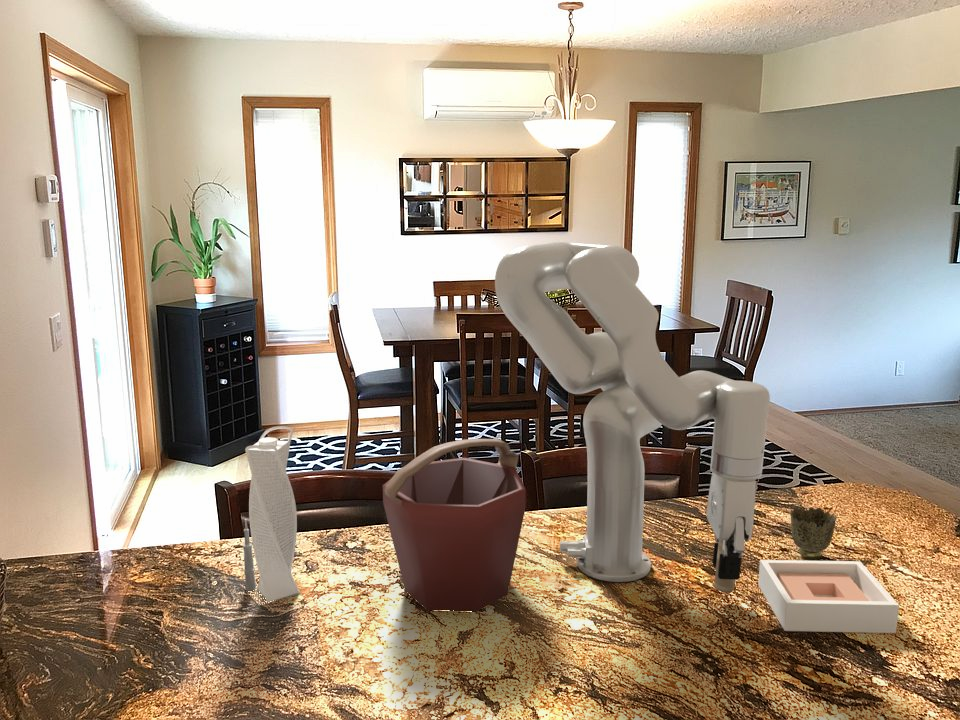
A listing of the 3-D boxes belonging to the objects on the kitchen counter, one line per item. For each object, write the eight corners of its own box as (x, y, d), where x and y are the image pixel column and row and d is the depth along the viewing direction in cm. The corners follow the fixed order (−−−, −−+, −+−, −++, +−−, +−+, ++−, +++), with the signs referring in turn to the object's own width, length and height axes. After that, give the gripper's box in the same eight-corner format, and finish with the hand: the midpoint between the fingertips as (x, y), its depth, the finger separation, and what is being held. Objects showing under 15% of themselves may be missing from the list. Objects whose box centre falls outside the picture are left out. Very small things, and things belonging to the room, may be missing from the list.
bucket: (504, 549, 147) (503, 417, 142) (556, 607, 127) (557, 455, 122) (372, 572, 139) (366, 433, 134) (405, 637, 119) (399, 476, 113)
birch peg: (716, 591, 126) (722, 532, 124) (712, 582, 129) (717, 524, 127) (736, 592, 126) (742, 533, 124) (731, 583, 129) (737, 525, 127)
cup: (825, 548, 146) (828, 506, 144) (838, 566, 139) (842, 523, 137) (782, 546, 147) (785, 505, 145) (793, 565, 140) (797, 521, 138)
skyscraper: (292, 576, 138) (281, 419, 132) (311, 595, 132) (301, 431, 126) (243, 590, 134) (230, 428, 128) (261, 611, 127) (248, 441, 121)
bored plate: (799, 619, 120) (800, 607, 120) (776, 584, 131) (777, 572, 131) (874, 621, 120) (876, 608, 119) (846, 585, 130) (847, 573, 130)
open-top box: (784, 630, 119) (786, 602, 118) (758, 585, 133) (759, 559, 132) (896, 633, 118) (899, 605, 117) (857, 586, 132) (860, 561, 131)
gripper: (700, 443, 131) (691, 547, 135) (724, 481, 115) (712, 598, 119) (747, 445, 130) (736, 549, 135) (777, 484, 115) (764, 600, 119)
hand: (725, 571), depth 127 cm, fingers closed on birch peg, 3 cm apart
